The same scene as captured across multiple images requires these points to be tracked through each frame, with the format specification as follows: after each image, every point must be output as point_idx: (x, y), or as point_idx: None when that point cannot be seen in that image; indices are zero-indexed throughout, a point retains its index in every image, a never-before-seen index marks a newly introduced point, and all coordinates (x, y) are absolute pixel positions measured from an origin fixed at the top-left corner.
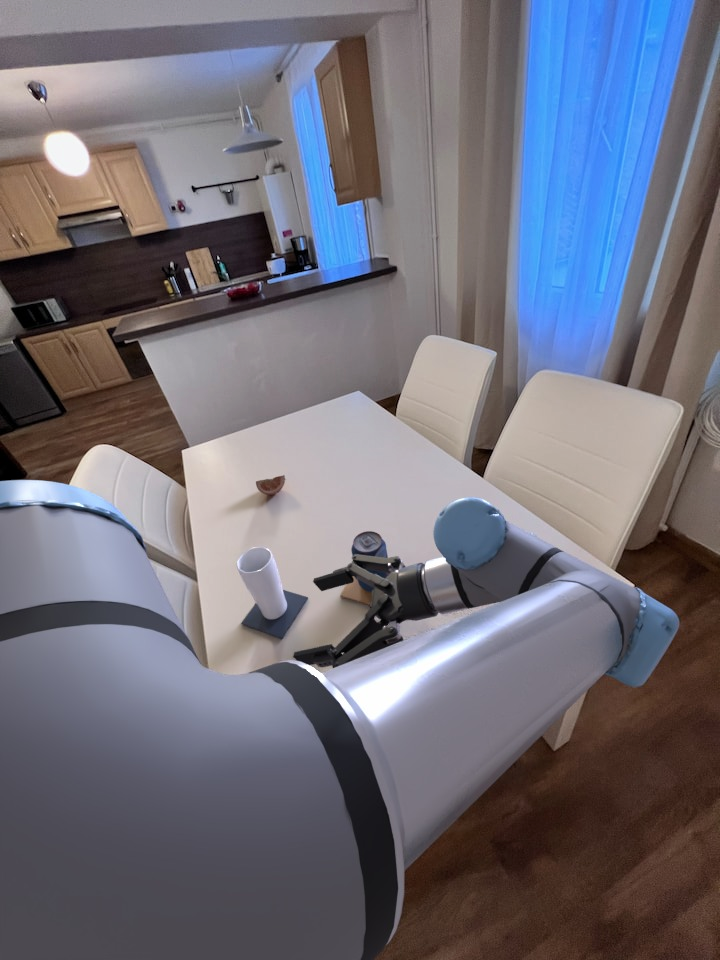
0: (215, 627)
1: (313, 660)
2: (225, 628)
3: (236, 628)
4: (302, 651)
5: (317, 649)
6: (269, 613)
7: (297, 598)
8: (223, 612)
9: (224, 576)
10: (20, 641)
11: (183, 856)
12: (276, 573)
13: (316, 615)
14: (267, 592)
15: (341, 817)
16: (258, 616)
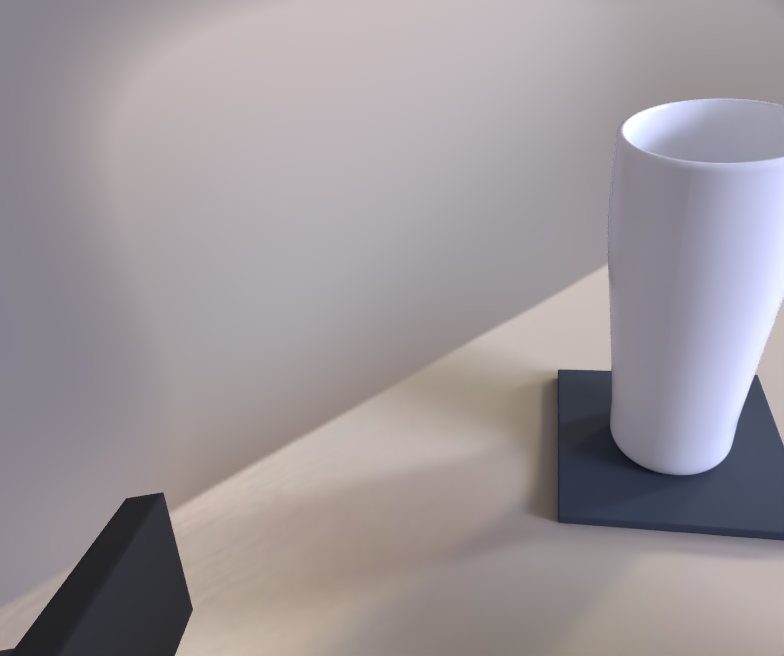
0: (518, 323)
1: (7, 650)
2: (526, 345)
3: (538, 369)
4: (128, 535)
5: (46, 638)
6: (618, 414)
7: (776, 495)
8: (576, 316)
9: None
10: None
11: None
12: (746, 268)
13: (751, 621)
14: (644, 311)
15: None
16: (609, 402)
